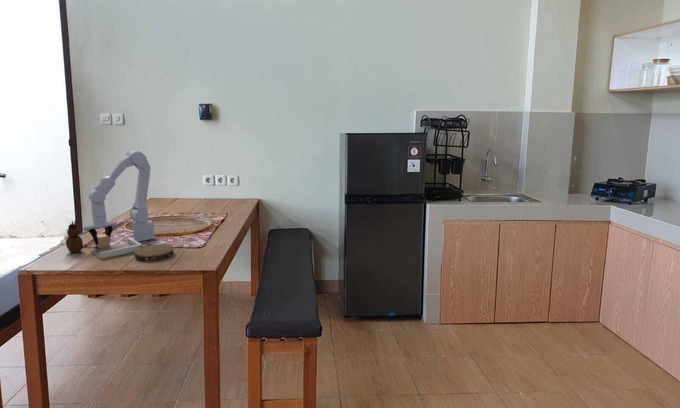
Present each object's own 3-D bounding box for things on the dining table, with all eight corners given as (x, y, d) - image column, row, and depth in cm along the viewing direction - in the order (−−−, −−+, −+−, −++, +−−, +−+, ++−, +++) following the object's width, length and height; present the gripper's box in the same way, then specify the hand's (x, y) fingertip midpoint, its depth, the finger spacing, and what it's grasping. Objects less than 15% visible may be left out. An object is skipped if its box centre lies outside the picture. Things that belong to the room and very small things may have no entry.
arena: (130, 243, 232) (129, 237, 231) (142, 250, 221) (142, 244, 220) (90, 251, 220) (89, 245, 219) (101, 259, 209) (100, 252, 208)
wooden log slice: (142, 251, 221) (141, 245, 220) (177, 250, 222) (177, 244, 221) (129, 262, 205) (129, 256, 204) (167, 261, 206) (167, 255, 205)
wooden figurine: (85, 251, 220) (82, 219, 217) (73, 254, 215) (69, 222, 212) (77, 249, 224) (73, 217, 221) (65, 252, 219) (60, 220, 216)
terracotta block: (105, 243, 232) (104, 233, 231) (110, 246, 227) (108, 235, 226) (95, 245, 229) (94, 234, 228) (99, 248, 224) (98, 237, 223)
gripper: (112, 211, 233) (115, 238, 236) (79, 216, 223) (83, 244, 226) (117, 213, 228) (120, 241, 231) (84, 219, 218) (87, 247, 221)
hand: (102, 243), depth 228 cm, fingers closed on terracotta block, 4 cm apart
